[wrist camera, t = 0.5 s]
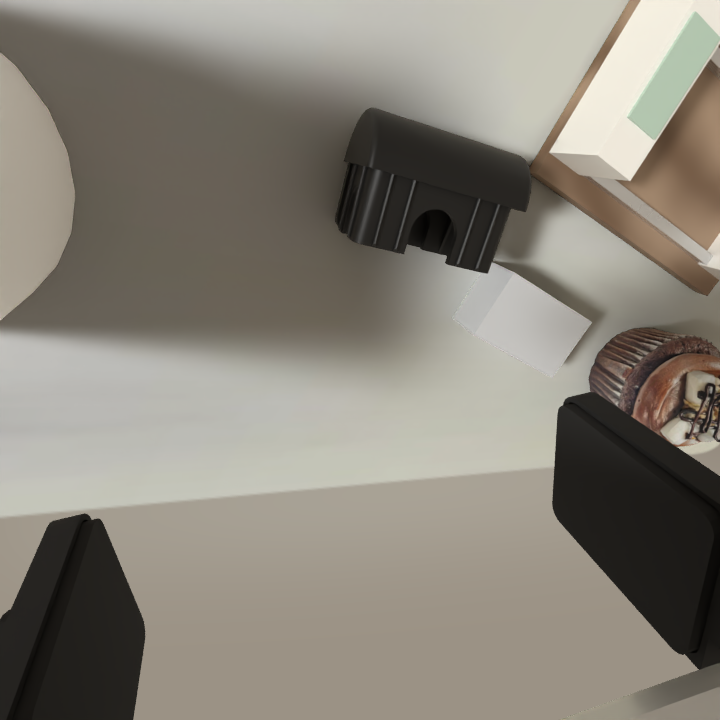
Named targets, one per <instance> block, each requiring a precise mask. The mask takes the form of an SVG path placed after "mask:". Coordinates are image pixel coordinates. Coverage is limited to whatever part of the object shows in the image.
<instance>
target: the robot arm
mask: <svg viewBox="0 0 720 720" xmlns="http://www.w3.org/2000/svg"><path fill="white" fill-rule="evenodd" d="M552 504H553V510H554V513H555V515H556V517H557V519H558V520H559V522H560V523H561V524H562V525H563V526H564V527H565V529H566V530H567V531H568V532H569V533H570V534H571V535H572V536H573V538H574V539H575V540H576V541H577V542H578V543H579V544H580V545H581V547H582V548H583V549H584V550H585V551H586V552H587V553H588V554H589V556H590V557H591V558H592V559H593V560H594V561H595V562H596V563H597V565H599V567H600V568H601V569H602V570H603V571H604V572H605V573H606V575H607V576H608V577H609V578H610V579H611V580H612V582H614V584H615V585H616V586H617V587H618V588H619V589H620V590H621V591H622V593H623V594H624V595H625V596H626V597H627V598H628V600H629V601H630V602H631V603H632V604H633V605H634V606H635V607H636V609H637V610H638V611H639V612H640V613H641V614H642V615H643V616H644V617H645V619H646V620H647V621H648V622H649V623H650V624H651V625H652V627H653V628H654V629H655V630H656V631H657V632H658V633H659V634H660V636H661V637H662V638H663V639H664V640H665V641H666V642H667V643H668V645H669V646H670V647H671V648H672V649H673V650H674V651H676V652H677V653H679V654H682V655H683V654H685V655H686V656H687V657H688V658H689V659H690V660H691V662H692V663H693V664H694V665H695V666H696V667H697V668H698V669H699V670H697V671H695V672H692V673H689V674H686V675H683V676H681V677H678V678H675V679H672V680H669V681H667V682H664V683H661V684H658V685H655V686H653V687H650V688H647V689H644V690H641V691H639V692H636V693H633V694H630V695H627V696H625V697H622V698H619V699H616V700H613V701H611V702H608V703H605V704H602V705H599V706H597V707H594V708H591V709H588V710H585V711H583V712H580V713H577V714H574V715H572V716H569V717H566V718H563V719H560V720H720V476H719V475H717V474H716V473H714V472H713V471H711V470H710V469H709V468H707V467H705V466H704V465H702V464H701V463H700V462H698V461H697V460H695V459H694V458H692V457H691V456H689V455H688V454H686V453H685V452H683V451H682V450H680V449H679V448H677V447H676V446H674V445H673V444H671V443H670V442H669V441H667V440H666V439H664V438H663V437H661V436H660V435H658V434H657V433H655V432H654V431H652V430H651V429H649V428H648V427H646V426H645V425H643V424H642V423H640V422H639V421H637V420H636V419H634V418H633V417H632V416H630V415H629V414H627V413H626V412H624V411H623V410H621V409H620V408H618V407H617V406H615V405H614V404H612V403H611V402H609V401H608V400H606V399H605V398H603V397H602V396H600V395H599V394H597V393H595V392H589V393H585V394H580V395H576V396H572V397H568V398H567V399H565V401H564V404H563V406H561V407H560V408H559V410H558V417H557V434H556V451H555V467H554V484H553V501H552ZM144 643H145V626H144V621H143V618H142V615H141V613H140V611H139V608H138V606H137V603H136V601H135V599H134V596H133V594H132V592H131V589H130V587H129V584H128V582H127V579H126V577H125V575H124V572H123V570H122V567H121V565H120V563H119V560H118V558H117V555H116V553H115V551H114V548H113V546H112V543H111V541H110V539H109V536H108V534H107V531H106V529H105V527H104V524H103V522H102V521H101V520H100V519H94V520H91V518H90V516H89V515H87V514H81V515H76V516H72V517H68V518H64V519H60V520H56V521H52V522H51V523H50V524H49V525H48V527H47V529H46V531H45V533H44V536H43V538H42V541H41V543H40V545H39V547H38V549H37V552H36V554H35V556H34V559H33V561H32V563H31V565H30V567H29V570H28V572H27V574H26V577H25V579H24V581H23V583H22V586H21V588H20V590H19V593H18V595H17V597H16V599H15V601H14V604H13V606H12V608H11V610H8V611H7V612H6V613H5V614H4V615H3V616H2V617H1V619H0V720H133V717H134V710H135V704H136V697H137V690H138V683H139V676H140V670H141V663H142V656H143V649H144Z"/></svg>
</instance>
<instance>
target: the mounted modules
mask: <svg viewBox="0 0 720 720" xmlns="http://www.w3.org/2000/svg"><path fill="white" fill-rule="evenodd" d="M719 44H720V0H641V1H640V2H639V4H638V6H637V7H636V9H635V11H634V12H633V14H632V16H631V17H630V19H629V21H628V22H627V24H626V26H625V27H624V29H623V31H622V32H621V34H620V36H619V37H618V39H617V40H616V42H615V44H614V45H613V47H612V49H611V50H610V52H609V54H608V55H607V57H606V59H605V60H604V62H603V64H602V65H601V67H600V69H599V70H598V72H597V74H596V75H595V77H594V79H593V80H592V82H591V84H590V85H589V87H588V89H587V90H586V92H585V94H584V95H583V97H582V98H581V100H580V102H579V103H578V105H577V107H576V108H575V110H574V112H573V113H572V115H571V117H570V118H569V120H568V122H567V123H566V125H565V127H564V128H563V130H562V132H561V133H560V135H559V137H558V138H557V140H556V142H555V143H554V145H553V147H552V148H551V150H550V152H549V153H550V154H552V155H553V156H554V157H556V158H557V159H558V160H560V161H561V162H562V163H564V164H565V165H566V166H568V167H569V168H570V169H572V170H573V171H574V172H576V173H577V174H578V175H583V176H591V177H600V178H608V179H617V180H625V181H631V179H632V178H633V176H634V175H635V173H636V171H637V170H638V168H639V167H640V165H641V164H642V162H643V161H644V159H645V158H646V156H647V155H648V153H649V152H650V150H651V149H652V147H653V145H654V144H655V142H656V141H657V139H658V138H659V136H660V135H661V133H662V132H663V130H664V129H665V127H666V126H667V124H668V123H669V121H670V119H671V118H672V116H673V115H674V113H675V112H676V110H677V109H678V107H679V106H680V104H681V103H682V101H683V100H684V98H685V97H686V95H687V93H688V92H689V90H690V89H691V87H692V86H693V84H694V83H695V81H696V80H697V78H698V77H699V75H700V74H701V72H702V71H703V69H704V67H705V66H706V64H707V63H708V61H709V60H710V58H711V57H712V55H713V54H714V52H715V51H716V49H717V48H718V46H719ZM707 251H708V252H709V253H710V254H712V255H713V257H712V259H711V260H710V261H709V263H708V264H707V265H705V264H701V263H698V265H700V266H701V267H702V268H704V269H705V270H706V271H708V272H709V273H710V274H712V275H713V276H714V277H716V278H717V279H718V280H720V233H719V235H718V236H717V238H716V239H715V240H714V242H713V243H712V245H711V246H710V247H709V249H708V250H707Z"/></svg>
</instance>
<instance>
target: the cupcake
mask: <svg viewBox="0 0 720 720" xmlns="http://www.w3.org/2000/svg"><path fill="white" fill-rule="evenodd" d="M589 383H590V391H591V392H595V393H597V394H599V395H600V396H602V397H603V398H605V399H606V400H608V401H609V402H611V403H612V404H614V405H615V406H617V407H618V408H620V409H621V410H623V411H624V412H626V413H627V414H629V415H630V416H632V417H633V418H634V419H636V420H637V421H639V422H640V423H642V424H643V425H645V426H646V427H648V428H649V429H651V430H652V431H654V432H655V433H657V434H658V435H660V436H661V437H663V438H664V439H666V440H667V441H669V442H670V443H671V444H673V445H674V446H676V447H679V446H689V445H694V444H696V443H699V442H711V441H714V440H716V441H717V442H720V352H719V351H718V349H717V348H716V347H714V346H713V345H712V342H708V341H707V339H702V338H701V337H697V336H694V335H686V334H674V333H669V332H664V331H660V330H657V329H654V328H653V329H650V328H639V329H631V330H628V331H626V332H622V333H621V334H618V335H616V336H615V337H614V338H612V339H611V340H610V341H609V342H608V343H606V345H605V346H604V347H603V348H602V349H601V350H600V352H599V353H598V355H597V357H596V359H595V363H594V365H593V366H592V368H591V372H590V376H589Z"/></svg>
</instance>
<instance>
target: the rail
mask: <svg viewBox="0 0 720 720" xmlns="http://www.w3.org/2000/svg"><path fill="white" fill-rule="evenodd" d="M706 67H707V68H708V69H709V70H710V71H711V72H712V73H713V74H714V75H715V76H716V77H717V78H718V79H719V80H720V48H719V47H718V48H717V49H716V51H715V52H714V54H713V55H712V57H711V58H710V60H709V61H708V63H707V64H706ZM582 176H583V175H582ZM584 177H585V178H586V179H588V180H589V181H590V182H592V183H593V184H594V185H596V186H597V187H598V188H600V189H601V190H602V191H604V192H605V193H606V194H608V195H609V196H610V197H612V198H613V199H614V200H616V201H617V202H618V203H620V204H621V205H622V206H624V207H625V208H626V209H628V210H629V211H630V212H632V213H633V214H634V215H636V216H637V217H638V218H640V219H641V220H642V221H644V222H645V223H646V224H648V225H649V226H650V227H652V228H653V229H654V230H656V231H657V232H658V233H660V234H661V235H662V236H663V237H665V238H666V239H667V240H669V241H670V242H671V243H673V244H674V245H675V246H677V247H678V248H679V249H681V250H682V251H683V252H685V253H686V254H687V255H689V256H690V257H691V258H693V259H694V260H695V261H697V262H698V263H701V264H705V265H707V264H708V263H709V261H710V260H711V259H712V257H713V255H712V254H710V253H709V252H708V251H706V250H705V249H704V248H702V247H701V246H700V245H699V244H697V243H696V242H695V241H693V240H692V239H691V238H690V237H688V236H687V235H686V234H684V233H683V232H682V231H681V230H679V229H678V228H677V227H675V226H674V225H673V224H672V223H670V222H669V221H668V220H666V219H665V218H664V217H663V216H661V215H660V214H659V213H657V212H656V211H655V210H654V209H652V208H651V207H650V206H648V205H647V204H646V203H644V202H643V201H642V200H641V199H639V198H638V197H637V196H635V195H634V194H633V193H632V192H630V191H629V190H628V189H626V188H625V187H624V186H623V185H621V184H620V183H619V182H617V181H616V180H615V179H608V178H600V177H591V176H584Z"/></svg>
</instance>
